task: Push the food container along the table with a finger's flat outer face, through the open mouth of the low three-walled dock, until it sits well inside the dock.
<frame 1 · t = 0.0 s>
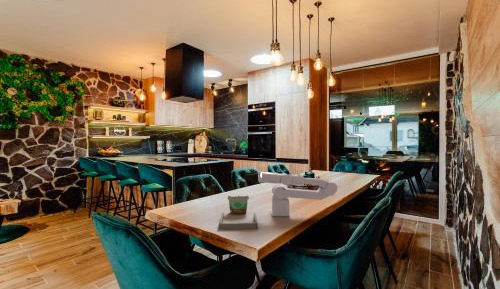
hand: (244, 175, 141), 22 cm above the table, tool horizontal, fingers open, 7 cm apart
food container: (239, 214, 144), on the table
dock: (238, 222, 129), on the table
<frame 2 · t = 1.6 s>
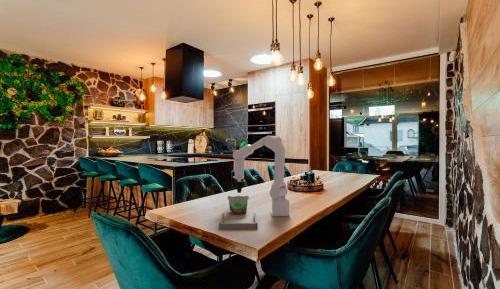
hand: (239, 191, 159), 9 cm above the table, tool pointing down, fingers open, 7 cm apart
nothing on the table moved.
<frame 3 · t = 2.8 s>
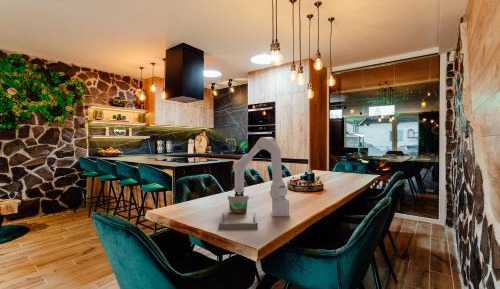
hand: (239, 203, 158), 2 cm above the table, tool pointing down, fingers open, 7 cm apart
nothing on the table moved.
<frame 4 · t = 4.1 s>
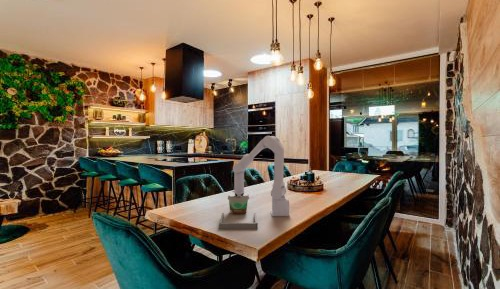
hand: (239, 206, 152), 2 cm above the table, tool pointing down, fingers open, 6 cm apart
food container: (239, 213, 144), on the table, touching gripper
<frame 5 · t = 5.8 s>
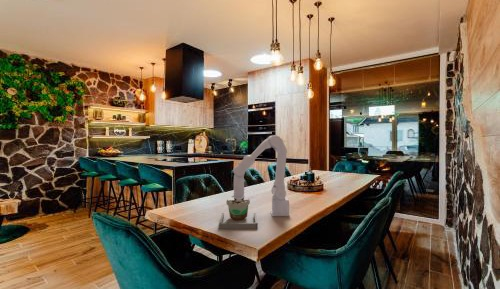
hand: (238, 212, 140), 2 cm above the table, tool pointing down, fingers open, 6 cm apart
food container: (238, 218, 134), on the table, touching gripper
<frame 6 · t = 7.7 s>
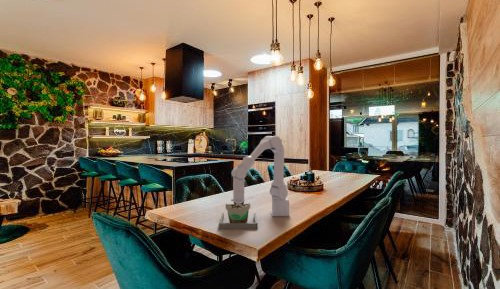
hand: (238, 216, 132), 2 cm above the table, tool pointing down, fingers open, 6 cm apart
food container: (238, 223, 126), on the table, touching gripper
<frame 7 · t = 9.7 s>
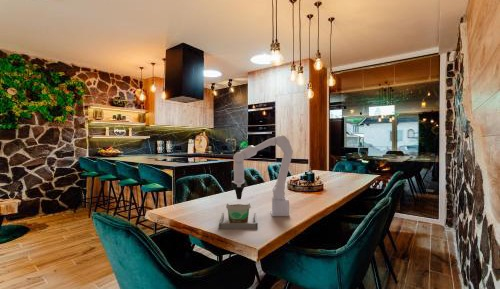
hand: (239, 197, 143), 9 cm above the table, tool pointing down, fingers open, 7 cm apart
food container: (238, 225, 126), on the table
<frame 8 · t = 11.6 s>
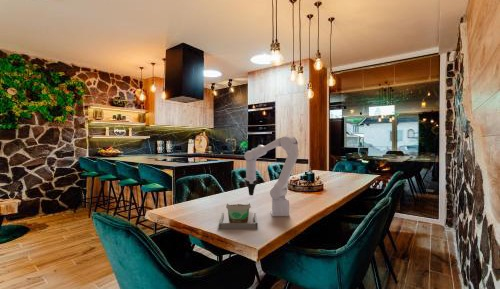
hand: (251, 193, 152), 9 cm above the table, tool pointing down, fingers open, 7 cm apart
nothing on the table moved.
at the end: food container inside the target area on the dock (2.2 cm from its centre), point 0.0 cm above the dock's base; food container tilted 0° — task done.
